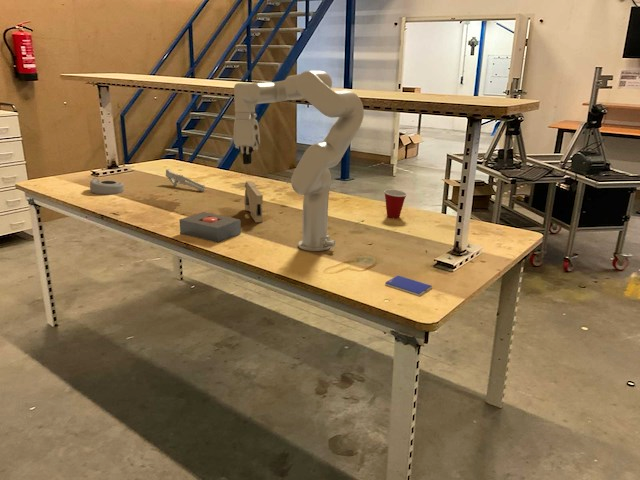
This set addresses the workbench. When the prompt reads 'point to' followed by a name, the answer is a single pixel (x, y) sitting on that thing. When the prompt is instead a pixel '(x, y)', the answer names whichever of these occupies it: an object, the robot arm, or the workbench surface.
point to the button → (210, 219)
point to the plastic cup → (394, 202)
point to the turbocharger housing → (106, 186)
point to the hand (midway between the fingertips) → (247, 163)
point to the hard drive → (408, 285)
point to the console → (210, 227)
